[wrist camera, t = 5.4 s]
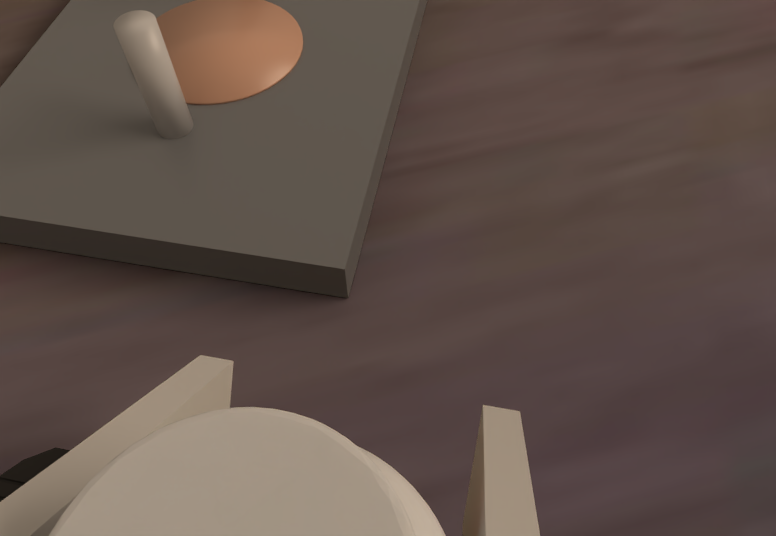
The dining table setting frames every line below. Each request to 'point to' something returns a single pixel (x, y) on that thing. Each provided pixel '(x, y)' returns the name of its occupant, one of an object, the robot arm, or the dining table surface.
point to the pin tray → (207, 134)
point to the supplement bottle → (247, 483)
